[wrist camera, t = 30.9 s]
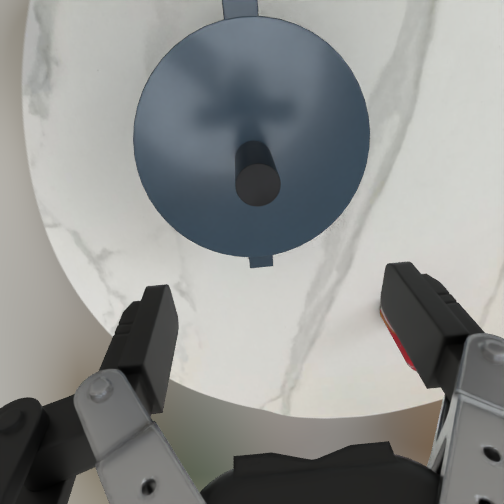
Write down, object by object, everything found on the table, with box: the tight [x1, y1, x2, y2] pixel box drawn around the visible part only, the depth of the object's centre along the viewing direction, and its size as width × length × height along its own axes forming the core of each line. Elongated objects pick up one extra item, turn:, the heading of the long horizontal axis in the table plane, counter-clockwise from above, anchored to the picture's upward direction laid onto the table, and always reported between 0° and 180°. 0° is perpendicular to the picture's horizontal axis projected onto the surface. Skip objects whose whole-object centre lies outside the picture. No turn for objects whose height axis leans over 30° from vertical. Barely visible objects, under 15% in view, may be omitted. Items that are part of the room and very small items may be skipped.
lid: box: [133, 16, 370, 257], centre depth 24 cm, size 19×19×7 cm
